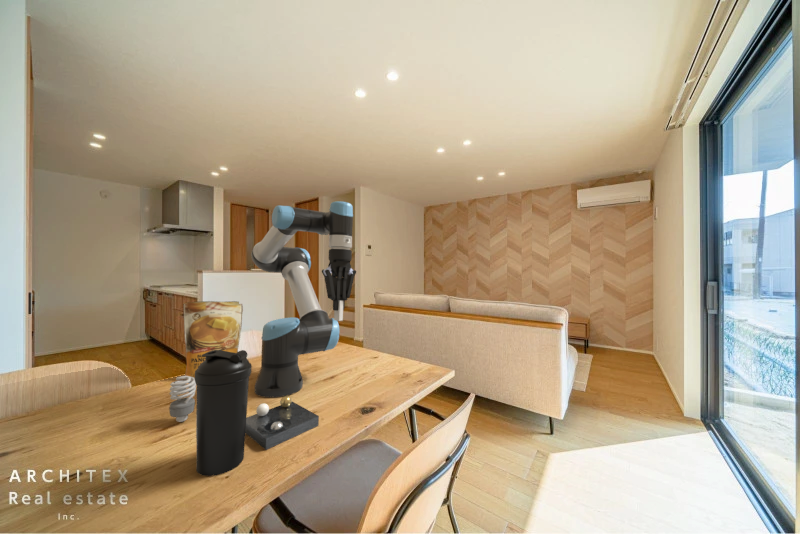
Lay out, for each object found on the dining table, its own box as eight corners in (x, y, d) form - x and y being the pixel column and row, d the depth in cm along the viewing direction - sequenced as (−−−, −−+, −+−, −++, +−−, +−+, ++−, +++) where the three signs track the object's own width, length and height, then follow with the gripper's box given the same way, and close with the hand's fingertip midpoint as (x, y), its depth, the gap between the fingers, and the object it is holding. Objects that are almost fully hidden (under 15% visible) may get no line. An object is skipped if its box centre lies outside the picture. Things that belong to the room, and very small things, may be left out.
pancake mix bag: (182, 376, 108) (185, 301, 109) (240, 370, 116) (243, 300, 117) (177, 383, 102) (180, 303, 102) (239, 376, 110) (242, 301, 111)
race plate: (240, 429, 74) (241, 419, 74) (291, 409, 84) (291, 401, 85) (265, 450, 65) (266, 438, 65) (318, 425, 76) (318, 415, 76)
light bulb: (200, 419, 78) (201, 374, 78) (178, 429, 73) (179, 381, 73) (185, 415, 80) (186, 371, 80) (162, 425, 75) (164, 378, 75)
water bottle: (209, 448, 66) (212, 345, 66) (256, 446, 67) (259, 346, 67) (178, 480, 56) (183, 359, 56) (234, 478, 56) (238, 359, 57)
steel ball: (269, 420, 72) (281, 418, 74) (265, 434, 71) (278, 432, 73) (275, 424, 70) (287, 422, 72) (272, 439, 69) (284, 436, 71)
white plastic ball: (254, 415, 76) (254, 404, 76) (265, 411, 78) (265, 400, 78) (259, 419, 74) (260, 407, 74) (271, 415, 76) (271, 403, 76)
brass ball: (277, 407, 81) (278, 396, 81) (287, 403, 83) (288, 392, 83) (283, 410, 79) (283, 399, 79) (293, 406, 81) (294, 395, 81)
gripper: (331, 247, 89) (329, 324, 89) (362, 250, 99) (360, 319, 99) (317, 247, 94) (314, 321, 94) (347, 250, 104) (346, 316, 104)
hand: (338, 320), depth 96 cm, fingers closed
